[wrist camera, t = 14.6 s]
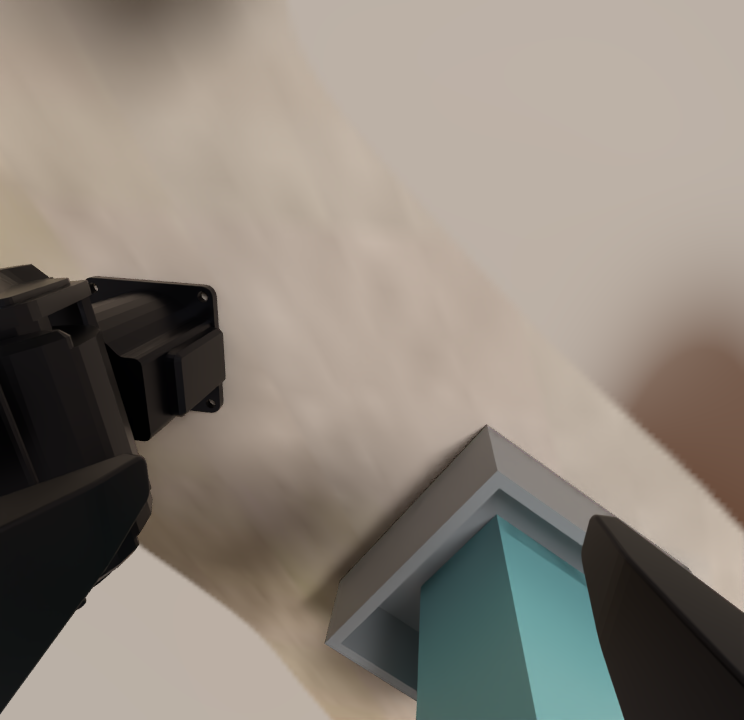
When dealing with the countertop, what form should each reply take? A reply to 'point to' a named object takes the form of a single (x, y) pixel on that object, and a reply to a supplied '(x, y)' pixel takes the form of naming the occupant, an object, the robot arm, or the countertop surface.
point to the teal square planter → (510, 636)
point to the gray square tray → (450, 549)
